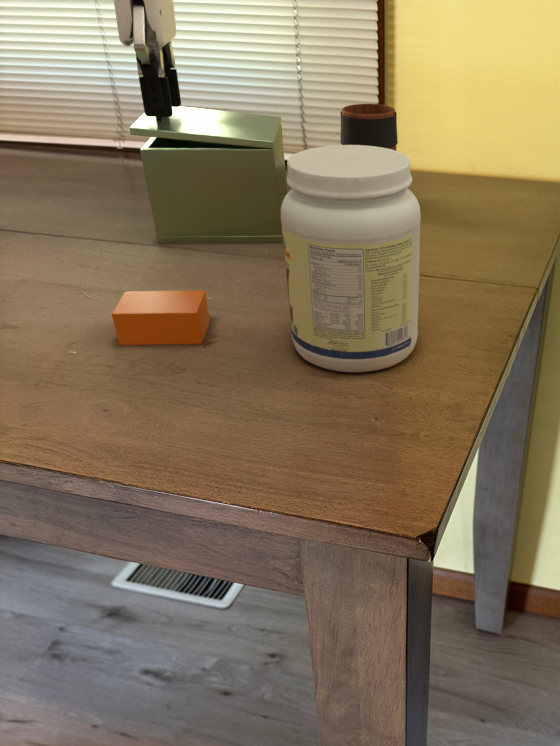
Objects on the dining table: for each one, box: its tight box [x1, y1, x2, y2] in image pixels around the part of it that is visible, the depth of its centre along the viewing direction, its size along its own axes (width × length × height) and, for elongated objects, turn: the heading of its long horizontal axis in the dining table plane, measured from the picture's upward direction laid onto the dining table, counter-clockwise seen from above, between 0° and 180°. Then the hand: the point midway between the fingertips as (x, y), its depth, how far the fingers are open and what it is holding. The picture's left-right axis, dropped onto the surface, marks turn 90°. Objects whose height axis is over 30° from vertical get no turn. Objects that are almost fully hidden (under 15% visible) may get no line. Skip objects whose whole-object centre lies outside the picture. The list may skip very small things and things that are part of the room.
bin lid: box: [129, 71, 282, 149], centre depth 92 cm, size 16×14×5 cm
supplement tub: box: [281, 144, 422, 373], centre depth 68 cm, size 12×12×17 cm
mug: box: [339, 103, 399, 151], centre depth 108 cm, size 9×12×12 cm
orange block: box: [111, 290, 211, 346], centre depth 75 cm, size 8×6×3 cm
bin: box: [139, 124, 288, 244], centre depth 97 cm, size 16×14×11 cm
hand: (163, 109), depth 92 cm, fingers closed on bin lid, 5 cm apart
